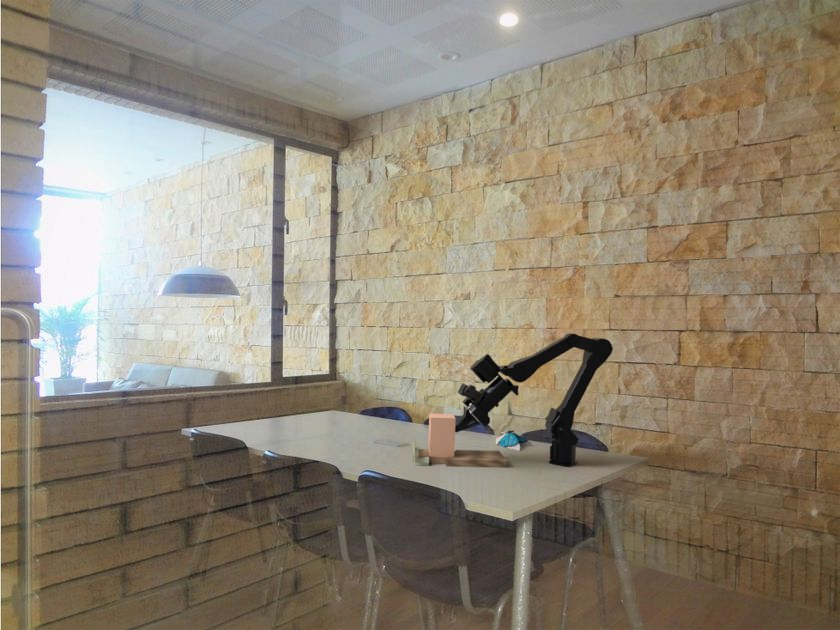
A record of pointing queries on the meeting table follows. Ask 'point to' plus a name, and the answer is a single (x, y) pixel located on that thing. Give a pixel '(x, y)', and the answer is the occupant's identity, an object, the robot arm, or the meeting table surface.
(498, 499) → the meeting table surface
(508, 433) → the decorative butterfly
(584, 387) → the robot arm
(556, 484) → the meeting table surface
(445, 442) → the block
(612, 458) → the meeting table surface
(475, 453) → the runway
